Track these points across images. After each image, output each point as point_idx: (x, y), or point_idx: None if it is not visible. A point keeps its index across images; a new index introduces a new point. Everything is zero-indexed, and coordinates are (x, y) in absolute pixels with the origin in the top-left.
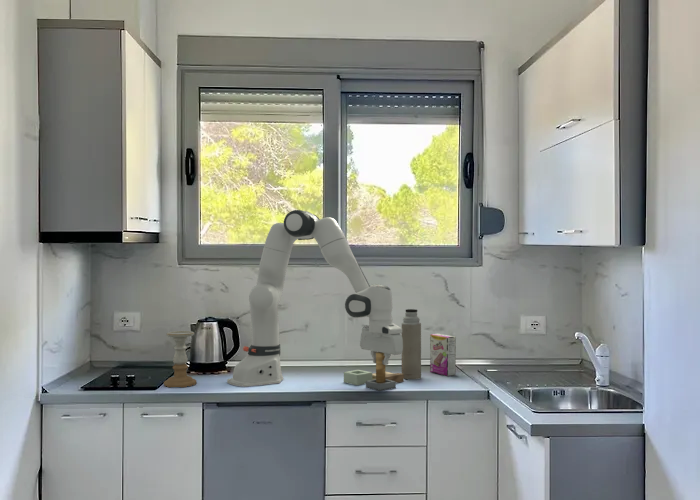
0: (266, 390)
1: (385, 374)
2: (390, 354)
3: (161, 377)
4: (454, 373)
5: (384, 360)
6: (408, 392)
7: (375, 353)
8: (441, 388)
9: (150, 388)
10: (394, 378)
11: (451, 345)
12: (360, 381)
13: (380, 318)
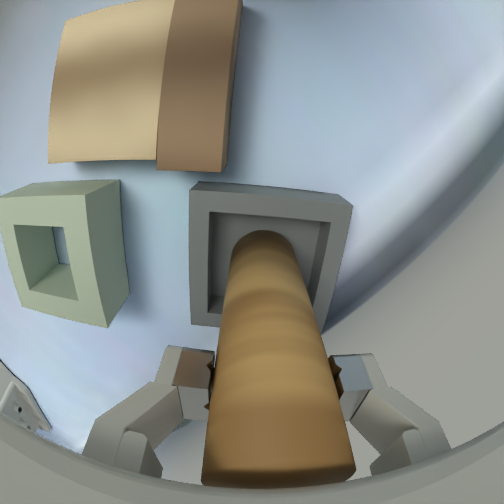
0: (87, 436)
1: (119, 69)
2: (443, 434)
3: None
4: None
5: (361, 419)
6: (436, 234)
7: (129, 432)
8: (485, 66)
9: None
10: (231, 74)
11: None
12: (119, 281)
13: None
